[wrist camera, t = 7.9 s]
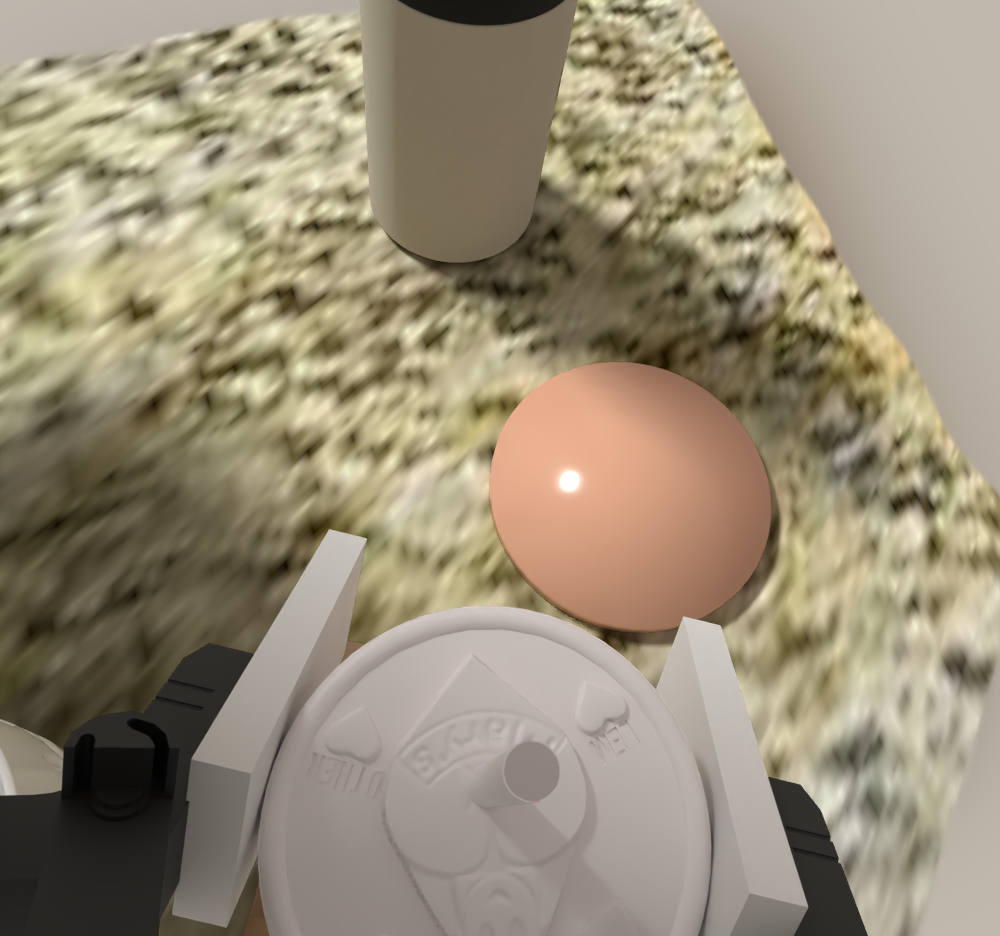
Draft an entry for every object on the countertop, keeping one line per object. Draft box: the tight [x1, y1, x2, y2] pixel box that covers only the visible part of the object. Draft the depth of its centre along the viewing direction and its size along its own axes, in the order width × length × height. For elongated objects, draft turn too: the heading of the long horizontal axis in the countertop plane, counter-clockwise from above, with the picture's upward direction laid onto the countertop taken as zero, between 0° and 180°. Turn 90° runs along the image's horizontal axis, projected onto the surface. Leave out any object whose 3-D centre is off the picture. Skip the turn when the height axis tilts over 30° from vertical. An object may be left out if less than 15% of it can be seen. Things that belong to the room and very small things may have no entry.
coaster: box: [489, 362, 771, 633], centre depth 36 cm, size 12×12×1 cm
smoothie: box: [258, 606, 711, 936], centre depth 14 cm, size 6×6×14 cm
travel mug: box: [360, 0, 578, 263], centre depth 33 cm, size 8×8×18 cm
